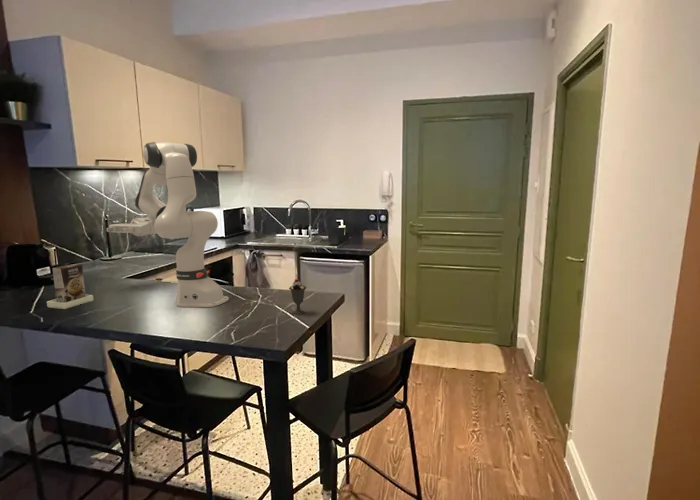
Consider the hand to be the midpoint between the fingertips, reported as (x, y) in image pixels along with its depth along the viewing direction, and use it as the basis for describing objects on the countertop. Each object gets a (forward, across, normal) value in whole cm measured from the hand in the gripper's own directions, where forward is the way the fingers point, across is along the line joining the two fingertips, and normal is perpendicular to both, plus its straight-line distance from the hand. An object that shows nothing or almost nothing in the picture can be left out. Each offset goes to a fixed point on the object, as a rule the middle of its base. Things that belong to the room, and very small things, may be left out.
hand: (115, 230), depth 190 cm
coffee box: (+20, -7, +30) cm, 36 cm away
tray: (+20, -7, +30) cm, 37 cm away
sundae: (+3, +94, +30) cm, 99 cm away
